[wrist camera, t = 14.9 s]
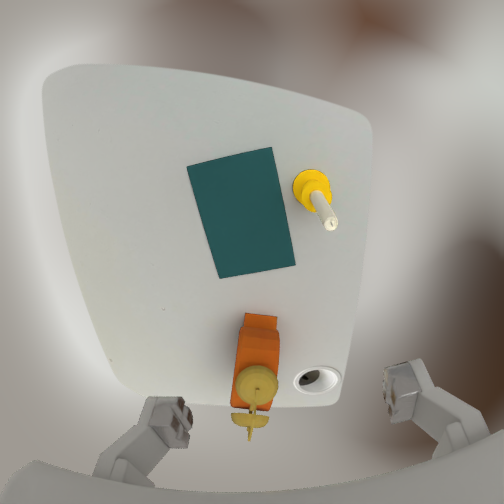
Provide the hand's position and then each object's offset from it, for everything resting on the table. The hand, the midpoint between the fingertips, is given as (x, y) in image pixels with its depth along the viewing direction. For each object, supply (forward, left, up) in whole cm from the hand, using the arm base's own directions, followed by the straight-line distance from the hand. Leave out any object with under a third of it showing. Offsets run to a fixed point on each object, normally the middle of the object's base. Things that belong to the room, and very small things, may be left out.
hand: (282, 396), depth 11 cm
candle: (+1, +5, -35) cm, 36 cm away
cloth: (+4, -5, -35) cm, 36 cm away
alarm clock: (+26, -8, -35) cm, 45 cm away
